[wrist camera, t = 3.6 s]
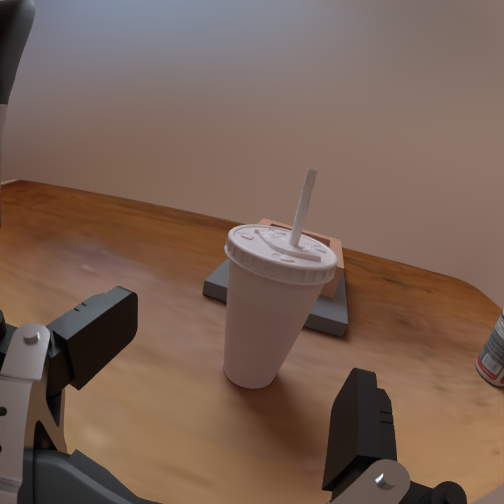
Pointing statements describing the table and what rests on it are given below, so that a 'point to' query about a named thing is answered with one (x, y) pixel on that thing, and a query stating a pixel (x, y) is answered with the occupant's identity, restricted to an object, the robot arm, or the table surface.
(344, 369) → the table surface
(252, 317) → the smoothie
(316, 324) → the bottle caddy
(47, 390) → the robot arm
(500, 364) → the pill bottle
